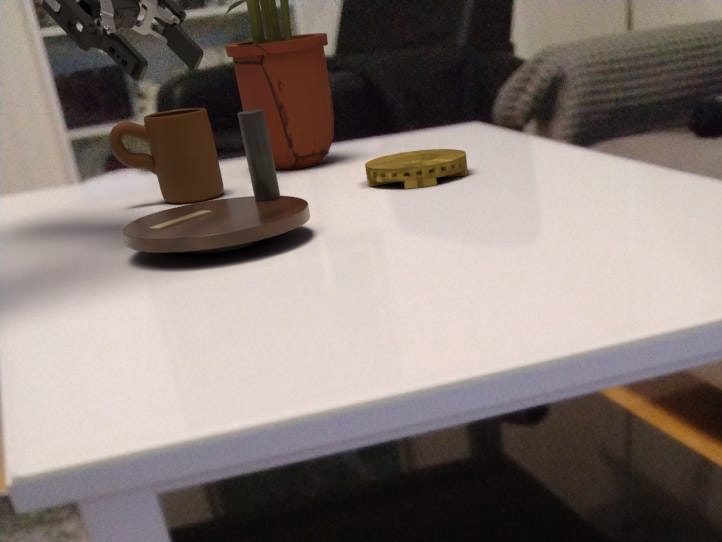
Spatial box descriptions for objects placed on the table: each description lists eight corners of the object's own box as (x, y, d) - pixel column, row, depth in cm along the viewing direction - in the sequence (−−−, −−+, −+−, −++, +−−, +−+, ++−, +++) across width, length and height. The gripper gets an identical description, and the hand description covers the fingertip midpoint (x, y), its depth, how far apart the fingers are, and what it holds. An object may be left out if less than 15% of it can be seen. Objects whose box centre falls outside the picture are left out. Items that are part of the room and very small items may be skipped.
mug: (127, 213, 121) (103, 125, 116) (126, 203, 127) (103, 119, 122) (228, 197, 123) (209, 110, 118) (222, 188, 129) (204, 105, 124)
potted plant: (262, 161, 145) (201, -147, 126) (369, 150, 144) (325, -163, 124) (232, 185, 131) (158, -160, 111) (351, 173, 129) (298, -178, 110)
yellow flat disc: (415, 166, 129) (413, 148, 127) (488, 170, 122) (486, 150, 121) (347, 186, 121) (344, 167, 120) (420, 191, 115) (417, 170, 113)
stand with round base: (103, 275, 94) (66, 149, 88) (161, 231, 109) (133, 121, 103) (294, 258, 92) (269, 129, 87) (326, 215, 107) (307, 102, 101)
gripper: (2, -95, 91) (137, 43, 93) (111, -97, 102) (230, 27, 104) (-18, -20, 97) (110, 110, 98) (88, -29, 107) (202, 88, 109)
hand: (172, 67), depth 101 cm, fingers open, 8 cm apart
